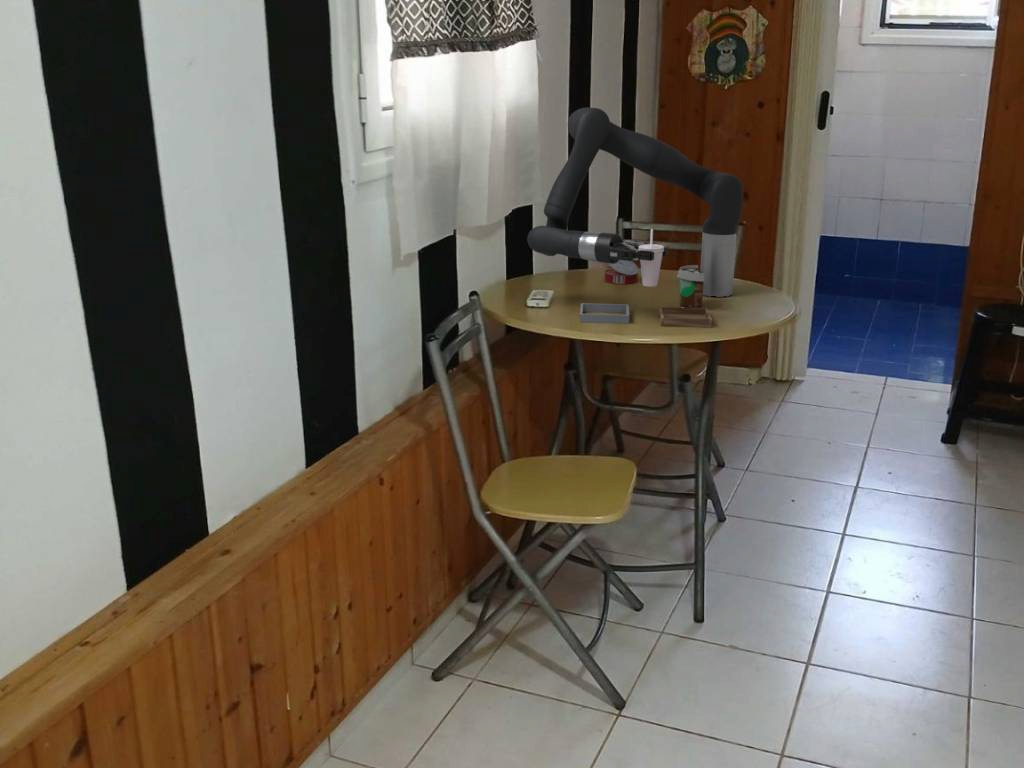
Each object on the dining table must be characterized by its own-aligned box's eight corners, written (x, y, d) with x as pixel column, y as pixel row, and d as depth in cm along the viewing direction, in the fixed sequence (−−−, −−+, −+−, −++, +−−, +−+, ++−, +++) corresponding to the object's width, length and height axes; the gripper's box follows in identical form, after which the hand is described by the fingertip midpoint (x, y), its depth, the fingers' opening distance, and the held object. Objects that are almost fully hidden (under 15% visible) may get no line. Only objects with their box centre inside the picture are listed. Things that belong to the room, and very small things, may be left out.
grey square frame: (580, 310, 271) (580, 303, 270) (627, 312, 270) (628, 304, 269) (579, 322, 259) (579, 314, 259) (629, 323, 258) (629, 315, 258)
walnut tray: (658, 314, 268) (659, 307, 267) (706, 315, 267) (707, 308, 266) (661, 326, 256) (661, 318, 255) (711, 327, 255) (712, 319, 254)
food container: (673, 300, 283) (674, 264, 280) (695, 301, 283) (698, 264, 280) (678, 311, 271) (680, 273, 269) (702, 311, 271) (704, 273, 268)
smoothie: (636, 287, 257) (638, 230, 253) (637, 281, 263) (639, 226, 259) (662, 288, 256) (664, 231, 252) (663, 282, 262) (665, 227, 258)
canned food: (628, 294, 314) (645, 264, 312) (631, 297, 304) (648, 267, 302) (595, 276, 313) (612, 246, 311) (597, 279, 303) (614, 248, 301)
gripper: (586, 236, 258) (647, 243, 249) (614, 228, 270) (673, 234, 261) (585, 266, 261) (646, 274, 252) (613, 257, 272) (672, 264, 263)
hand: (659, 254), depth 256 cm, fingers closed on smoothie, 6 cm apart
